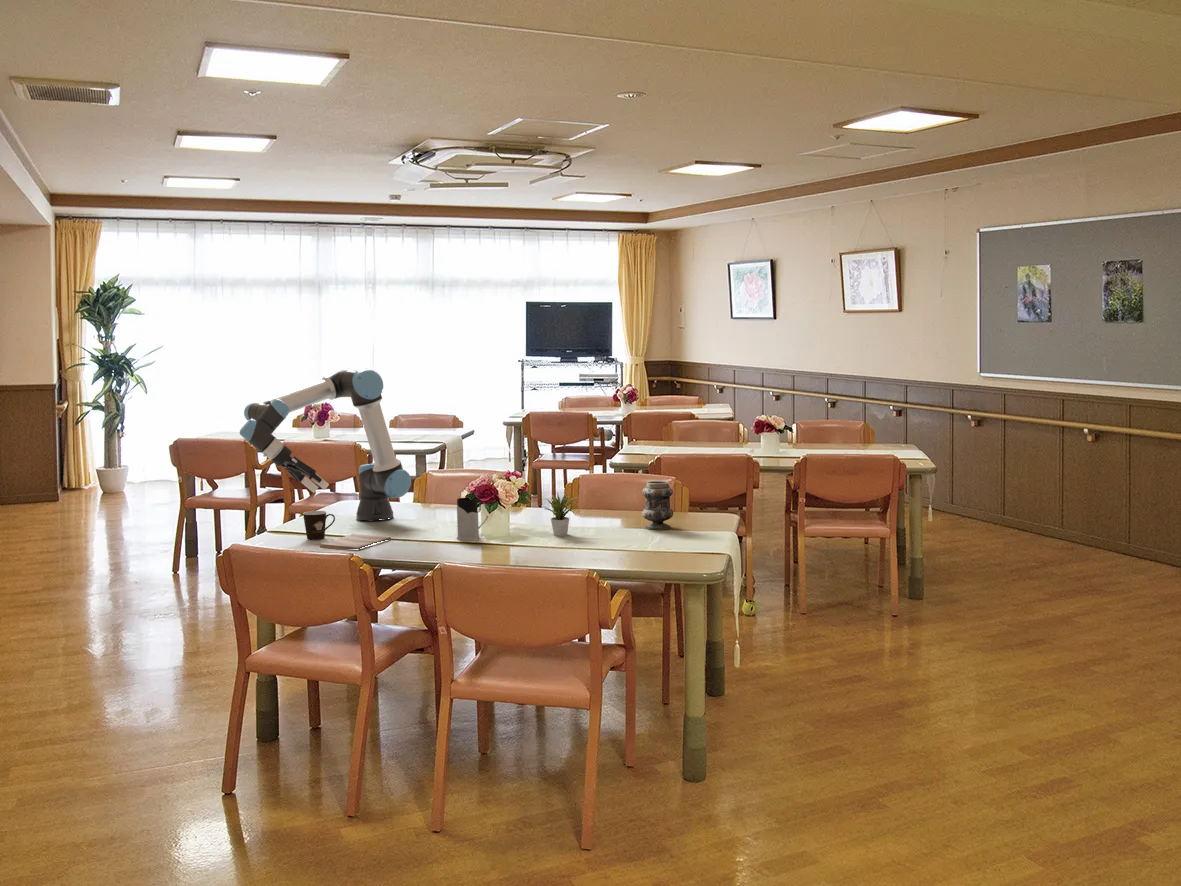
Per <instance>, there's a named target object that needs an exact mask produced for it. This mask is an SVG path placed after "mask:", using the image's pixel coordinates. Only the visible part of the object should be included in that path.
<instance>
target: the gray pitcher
mask: <svg viewBox="0 0 1181 886" xmlns="http://www.w3.org/2000/svg"><path fill="white" fill-rule="evenodd" d="M481 511H482V504H481V505H480V504H479V508H478V498H477V499H476V500H470V499H469V498H468V497H459V498H457V500H456V519H457V520H456V521H457V522H456V524H457V526H456V527H457V537H456V540H457V541H461V542H462V541H463V542H470V541H471V542H472V541H477V540H480V539H481V537H480V534H479V530H480V529H481V528H482V526H483V525H484V524H485V523H486V521H487V520H488V518H489V516H487V515H486V517H485V519H484V520H483V521H482V522H481V524H480V525H479V513H480V512H481Z"/></svg>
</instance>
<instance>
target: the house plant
mask: <svg viewBox="0 0 1181 886" xmlns="http://www.w3.org/2000/svg"><path fill="white" fill-rule="evenodd" d="M551 497H552V498H550V500H551V501H550V500H549V499H548V498H546V500H547V501H548V503H549V504H550V505H551V507H552V509H550V508H547V507H546V508H544V510H545V511H546V510H547V511H550V512H552V514H553V517H551V518H550V522H551V527H552V528H551V529H552V532H553V535H554V536H556V537H562V536H563V537H564V536H567V535H568V531H569V525H570V517H568V516H567V514H569V512H572V513H573V514H575V513H574V510H575V509H574V506H572V507H570V508H569V506H570V505H572V504H576V503H577V501H574V500H575V499H577V498H578V496H576V497H573V498H569V497H570V494H568V495H567V492H565V494H564V495H563V497H562V498H560V495H559V492H556V497H555V496H554V495H553V494H551ZM573 501H574V502H573ZM576 507H578V506H576V505H575V508H576Z"/></svg>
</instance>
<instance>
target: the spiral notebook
mask: <svg viewBox="0 0 1181 886" xmlns="http://www.w3.org/2000/svg"><path fill="white" fill-rule="evenodd" d="M389 539H391V540H392V538H391V536H386V535H372V534H362V533H361V534H360V533H352V534H349V535H348V534H347V535H346V536H343V537H339V538H336V539H335V538H334V539H332V540H329V541H325V542H322V543H320V544H319V547H320V548H324V549H325V548H327V549H336V550H345V549H360V548H362V547H365V546H368V545H371V544H373V543H377V542H381V541H385V540H389ZM389 541H390V540H389Z"/></svg>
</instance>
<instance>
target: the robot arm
mask: <svg viewBox="0 0 1181 886" xmlns="http://www.w3.org/2000/svg"><path fill="white" fill-rule="evenodd" d="M382 378H383V377H382V376H381V375H380V374H379V373H378V372H377V371H375V370H373V369H370V368H356V367H355V368H353V367H351V368H350V367H349V368H345V369H341V370H339V371H336V372H334V373H332V374H331V373H330V374H328V375H326V376H323V377H322V379H321V380H320V381H317V382H314V383H311V384H308V385H306V386H303V387H300V388H296V389H294V390H291V391H289V392H285V393H282V394H280V395H278V396H275V397H271V398H269V399H266V400H263V401H260V402H252V403H249V404H247V405H246V407H245V408H244V410H243V415H244V418H245V419H246V420H247V421H246V422H245V424H243V425H242V427H241V428H240V429H239V435H240V436H241V437H242V438H243V439H244V440H245V441H247V442H248V444H250V445H251V446H252V447H254V448H255V449H256V450H258V451H259V452H260V453H262V454H263V457H265V458H268V459H269V460H271V462H272V463H273V464H274V465H276V466H277V467H282V468H284V469H285V470H286V471H287V472H288V474H289V475H290V476H291V477H292V478H293V479H294V480H295V481H296V482H299V483H301V484H302V485H304V487H306V488H307V489H308V490H309V491H310V492H312V493H313V494H315V493H316V491H317V490H318V489H319V487H320V488H321V489H322V490H324V491H325V490H326V489H327V488H329V487H328V486H329V485H330V484H329V483H328V482H327V481H326V480H324V478H322V476H320V475H319V474H318V473H317V471H316V469H314V468H312V467H311V466H309V465H307V464H306V463H305V462H303V461H302V460H300V459H299V458H298V457H296V456H293V457H291V455H292V453H293V450H291V449H290V448H289V447H288V446H286V445H284V443H283V442H282V441H281V440H279V439H278V438H277V437H276V436H275V435H273V433H274V432H275V430H276V429H278V427H279V426H280V425H281V423H282V422H284V421H285V419H286V418H287V416H289V414H290V413H293V412H295V411H298V410H300V409H303V408H306V407H309V406H312V405H315V404H318V403H320V402H322V401H323V402H324V400H325V401H326V400H336V399H339V398H350V399H351V402H352V405H353V407H354V408H356V409H358V411H359V416H360V419H361V422H362V426H363V428H364V431H365V434H366V437H367V443H368V445H369V448H370V451H371V452H370V453H371V455H372V459H373V462H374V463H367V464H365V463H364V464H361V465H360V466H359V467H358V483H359V484H358V487H359V504H358V507H357V511H356V520H357V519H358V520H357V521H360V520H379V519H388V518H392V517H393V518H394V510H393V508H392V506H391V502H390V500H389V499H391V498H392V499H393V498H394V499H397V498H402V497H404V496H405V495H406V494H407V493H408V491H409V489H410V488H411V485H412V477H411V475H410V473H409V472H408V471H407V470H405V469H404V468H403V465H402V462H401V460H400V459H398V458H396V454H395V450H394V447H393V444H392V441H391V437H390V434H389V431H388V427H387V423H386V419H385V416H384V413H383V410H382V407H381V401H382V400H383V396H382V393H383V390H384V381H383V379H382ZM308 477H309V478H308ZM393 518H392V519H393ZM388 520H389V519H388Z"/></svg>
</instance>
